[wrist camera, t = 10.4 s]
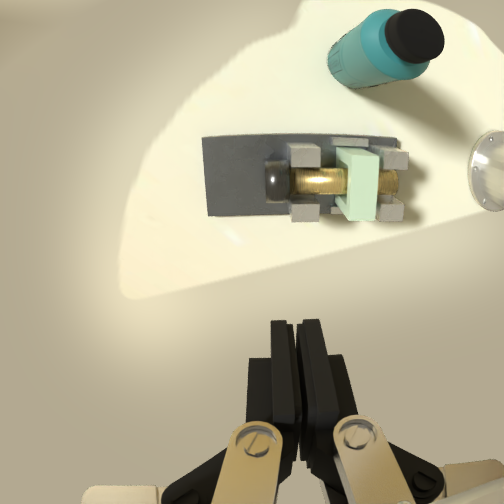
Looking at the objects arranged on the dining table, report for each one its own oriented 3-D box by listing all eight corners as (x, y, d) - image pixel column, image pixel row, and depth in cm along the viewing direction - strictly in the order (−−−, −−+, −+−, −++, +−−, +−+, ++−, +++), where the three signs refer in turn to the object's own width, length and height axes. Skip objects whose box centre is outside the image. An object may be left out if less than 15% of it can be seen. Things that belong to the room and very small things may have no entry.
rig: (393, 137, 36) (417, 144, 30) (388, 210, 41) (408, 229, 34) (203, 136, 37) (191, 142, 31) (209, 213, 42) (200, 233, 35)
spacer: (359, 147, 36) (379, 156, 30) (357, 202, 39) (374, 220, 33) (336, 146, 36) (351, 155, 30) (334, 201, 39) (348, 220, 33)
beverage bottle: (362, 99, 35) (447, 98, 16) (314, 75, 34) (365, 44, 16) (380, 57, 32) (472, 28, 14) (333, 32, 31) (395, -26, 13)
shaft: (387, 159, 35) (403, 166, 31) (384, 196, 37) (399, 208, 33) (264, 157, 36) (264, 163, 32) (265, 196, 38) (266, 208, 34)
